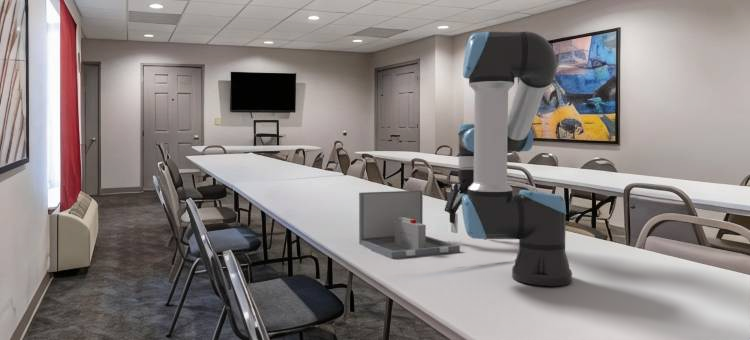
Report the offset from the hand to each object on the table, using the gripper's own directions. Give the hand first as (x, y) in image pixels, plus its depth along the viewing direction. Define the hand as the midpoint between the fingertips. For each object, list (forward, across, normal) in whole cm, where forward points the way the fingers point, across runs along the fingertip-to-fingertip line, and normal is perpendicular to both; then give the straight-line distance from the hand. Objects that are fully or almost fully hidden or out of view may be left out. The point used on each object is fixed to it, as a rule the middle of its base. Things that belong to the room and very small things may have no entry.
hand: (469, 231), depth 177 cm
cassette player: (+4, +24, 0) cm, 24 cm away
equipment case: (+4, +24, 0) cm, 24 cm away
